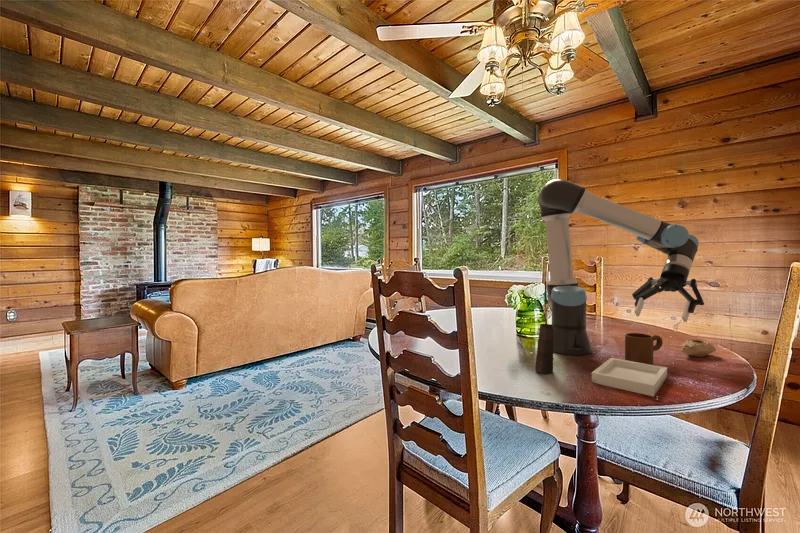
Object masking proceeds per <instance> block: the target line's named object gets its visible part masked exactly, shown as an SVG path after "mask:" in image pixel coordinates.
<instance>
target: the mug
mask: <svg viewBox="0 0 800 533" xmlns="http://www.w3.org/2000/svg"><path fill="white" fill-rule="evenodd" d="M654 342H655V344H654ZM663 344H664V343H663V337H661V336H660V335H657V334H653V335H650V334H646V333H640V332H639V333H638V332H628V333H625V336H624V360H627V361H633V362H638V363H644V364H650V365H654V353H655V352H656V351H658V350H660V349H661V348H662V347H663Z"/></svg>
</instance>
